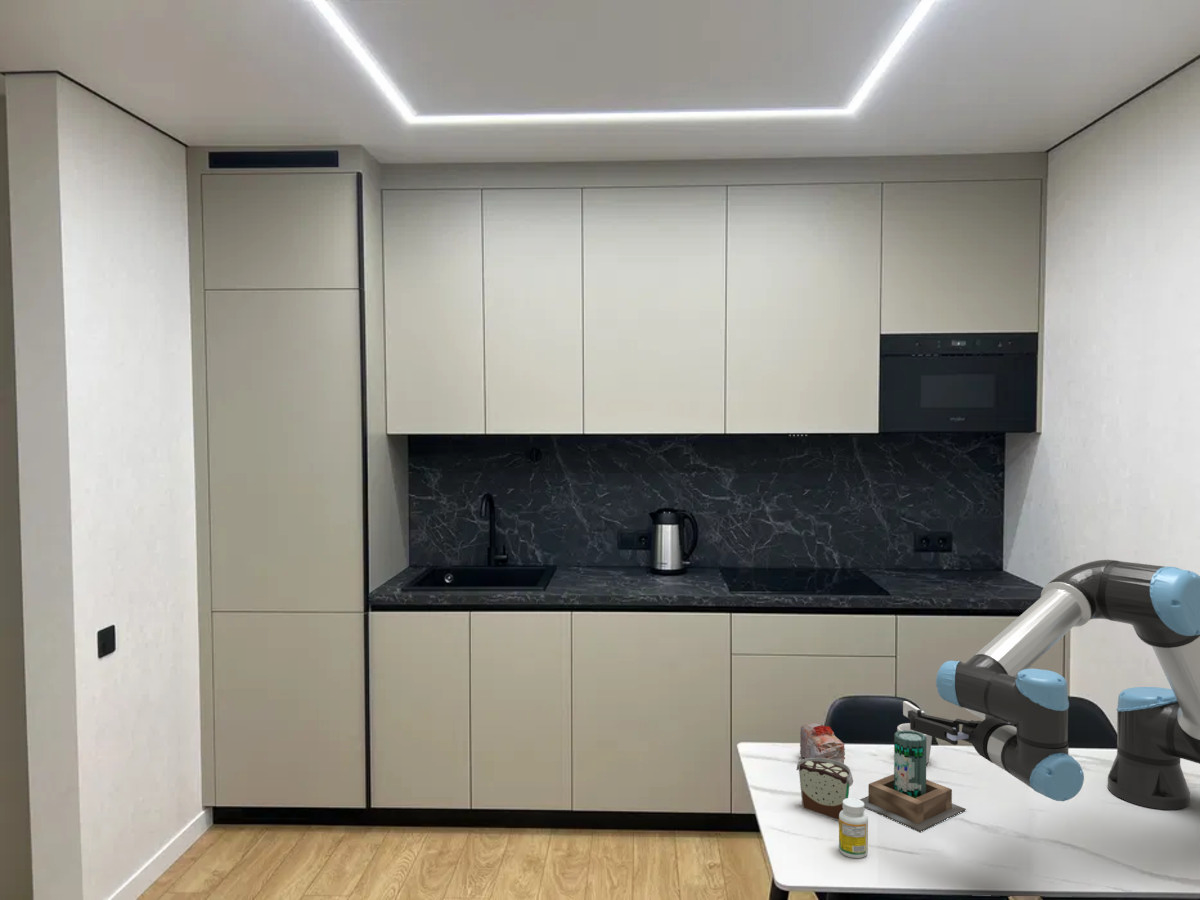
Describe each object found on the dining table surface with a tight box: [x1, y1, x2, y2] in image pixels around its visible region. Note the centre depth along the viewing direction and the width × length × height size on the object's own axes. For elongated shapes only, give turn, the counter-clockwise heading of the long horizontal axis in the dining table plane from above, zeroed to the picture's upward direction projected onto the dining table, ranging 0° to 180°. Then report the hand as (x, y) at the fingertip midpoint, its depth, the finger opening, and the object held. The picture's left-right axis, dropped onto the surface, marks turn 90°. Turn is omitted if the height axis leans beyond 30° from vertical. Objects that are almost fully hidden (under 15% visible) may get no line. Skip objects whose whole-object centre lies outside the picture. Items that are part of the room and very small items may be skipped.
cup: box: [896, 722, 933, 764], centre depth 203 cm, size 11×8×8 cm
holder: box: [859, 773, 967, 833], centre depth 181 cm, size 16×16×4 cm
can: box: [893, 730, 927, 798], centre depth 180 cm, size 6×6×15 cm
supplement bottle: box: [838, 797, 869, 859], centre depth 162 cm, size 5×5×10 cm
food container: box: [796, 758, 854, 822], centre depth 179 cm, size 12×6×10 cm, turn 47°
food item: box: [799, 723, 846, 764], centre depth 202 cm, size 14×8×10 cm, turn 9°
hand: (935, 705), depth 170 cm, fingers open, 13 cm apart
